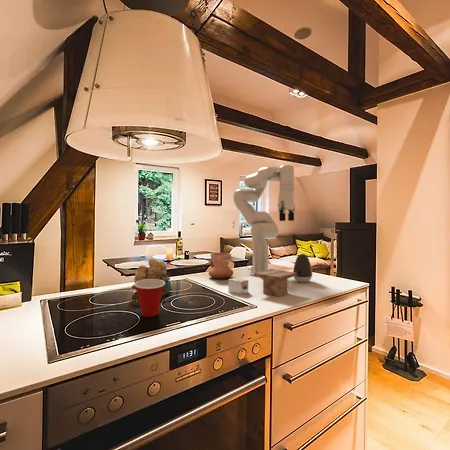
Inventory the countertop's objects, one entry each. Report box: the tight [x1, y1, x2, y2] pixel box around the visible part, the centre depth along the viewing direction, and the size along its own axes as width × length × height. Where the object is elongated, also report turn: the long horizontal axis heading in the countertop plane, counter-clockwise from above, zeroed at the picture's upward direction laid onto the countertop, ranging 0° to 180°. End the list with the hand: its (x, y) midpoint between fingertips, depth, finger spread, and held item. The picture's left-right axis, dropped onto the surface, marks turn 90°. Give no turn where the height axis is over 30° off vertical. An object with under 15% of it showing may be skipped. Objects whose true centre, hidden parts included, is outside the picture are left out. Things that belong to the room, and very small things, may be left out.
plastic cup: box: [134, 279, 166, 318], centre depth 104 cm, size 11×11×12 cm
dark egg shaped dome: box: [292, 253, 313, 284], centre depth 155 cm, size 10×10×15 cm
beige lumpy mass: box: [131, 258, 171, 301], centre depth 129 cm, size 18×12×17 cm, turn 130°
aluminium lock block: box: [227, 277, 249, 295], centre depth 134 cm, size 9×5×6 cm, turn 47°
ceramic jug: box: [208, 252, 234, 280], centre depth 167 cm, size 18×14×14 cm
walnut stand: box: [253, 268, 297, 297], centre depth 132 cm, size 14×14×10 cm
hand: (286, 220), depth 152 cm, fingers open, 9 cm apart
